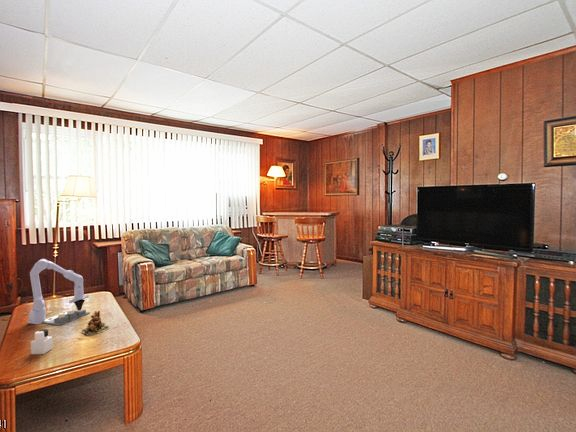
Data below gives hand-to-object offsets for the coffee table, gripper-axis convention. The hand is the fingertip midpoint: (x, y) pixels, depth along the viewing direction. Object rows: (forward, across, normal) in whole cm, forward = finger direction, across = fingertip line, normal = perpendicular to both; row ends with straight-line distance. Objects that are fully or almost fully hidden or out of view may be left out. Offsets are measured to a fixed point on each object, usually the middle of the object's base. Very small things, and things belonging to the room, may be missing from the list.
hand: (79, 309), depth 232 cm
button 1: (+1, -14, 0) cm, 14 cm away
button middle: (+1, -7, 0) cm, 7 cm away
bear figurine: (+5, -19, -34) cm, 40 cm away
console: (+4, -7, +5) cm, 10 cm away
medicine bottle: (+4, -50, -30) cm, 58 cm away
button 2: (+3, 0, 0) cm, 3 cm away
